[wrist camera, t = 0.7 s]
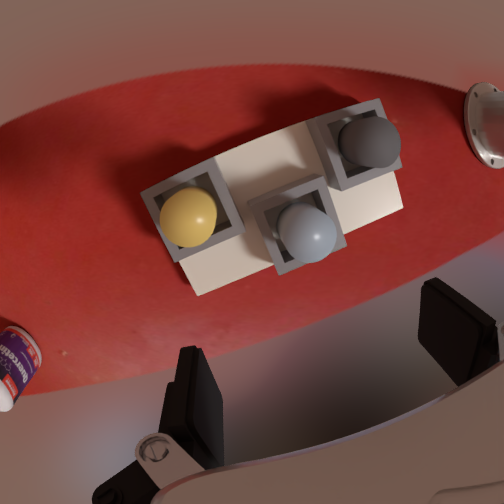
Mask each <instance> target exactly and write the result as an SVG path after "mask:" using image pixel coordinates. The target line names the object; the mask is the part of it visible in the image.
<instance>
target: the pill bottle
mask: <svg viewBox="0 0 504 504" xmlns="http://www.w3.org/2000/svg"><path fill="white" fill-rule="evenodd" d="M40 365H41V353H40V350H39V348H38V346H37V344H36V342H35V341H34V340H33V338H32V337H31V336H30V335H29V334H28V333H27V332H25V331H24V330H23V329H21V328H19V327H17V326H9V327H7V328H5V329H4V330H3V331H2V332H1V333H0V411H4V412H6V411H9V410H10V409H11V408H12V407H13V405H14V404H15V402H16V400H17V399H18V397H19V396H20V394H21V393H22V391H23V390H24V388H25V387H26V385H27V384H28V383H29V381H30V380H31V378H32V377H33V375H34V374H35V373H36V371H37V370H38V368H39V367H40Z"/></svg>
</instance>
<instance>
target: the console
mask: <svg viewBox="0 0 504 504" xmlns="http://www.w3.org/2000/svg"><path fill="white" fill-rule="evenodd" d="M376 116H377V117H382V118H385V119H387V117H386V114H385V112H384V109H383V106H382V104H381V101H380V99H379V98H377V99H374V100H370V101H366V102H363V103H359V104H356V105H353V106H349V107H346V108H343V109H339V110H336V111H333V112H330V113H327V114H324V115H320V116H317V117H314V118H312V119H309V120H306V121H303V122H300V123H297V124H294V125H292V126H289V127H286V128H283V129H281V130H278V131H275V132H273V133H270V134H267V135H265V136H262V137H260V138H257V139H255V140H252V141H250V142H247V143H245V144H242V145H240V146H238V147H235V148H233V149H230V150H228V151H226V152H224V153H221V154H219V155H217V156H214V157H212V158H210V159H208V160H205V161H203V162H201V163H199V164H197V165H195V166H192V167H190V168H188V169H186V170H184V171H182V172H180V173H178V174H176V175H174V176H172V177H170V178H168V179H166V180H164V181H162V182H160V183H158V184H156V185H154V186H152V187H150V188H148V189H146V190H144V191H142V192H140V194H141V196H142V198H143V201H144V203H145V205H146V207H147V209H148V211H149V213H150V215H151V217H152V219H153V221H154V223H155V225H156V227H157V229H158V231H159V233H160V235H161V237H162V239H163V241H164V243H165V245H166V247H167V249H168V251H169V253H170V254H171V256H172V258H173V260H174V262H178V261H179V263H180V265H181V267H182V268H183V270H184V272H185V274H186V276H187V278H188V280H189V281H190V283H191V285H192V287H193V289H194V291H195V292H196V294H197V296H199V295H202V294H204V293H207V292H209V291H212V290H214V289H216V288H219V287H221V286H224V285H226V284H229V283H231V282H233V281H236V280H238V279H241V278H243V277H245V276H248V275H250V274H253V273H255V272H257V271H260V270H262V269H264V268H267V267H269V266H271V265H275V267H276V270H277V272H278V274H279V275H282V274H284V273H286V272H289V271H291V270H293V269H296V268H298V267H300V266H303V265H305V264H307V263H305V262H301V261H298V260H296V259H295V258H294V257H292V256H291V255H290V253H289V252H288V250H287V249H286V247H285V245H284V244H283V242H282V240H281V239H280V237H279V235H278V233H277V229H276V223H277V218H278V216H279V214H280V212H281V211H282V210H283V209H284V208H285V207H286V206H288V205H289V204H291V203H295V202H306V203H309V204H311V205H312V206H314V207H316V208H317V209H319V210H320V211H322V212H323V213H325V214H326V215H328V216H329V217H330V218H331V219H332V221H333V222H334V224H335V227H336V231H337V238H336V243H335V245H334V248H333V249H332V251H331V252H330V253H332V252H335V251H337V250H339V249H341V248H344V247H346V246H347V244H346V241H345V238H344V235H343V234H346V233H348V232H350V231H352V230H355V229H357V228H359V227H361V226H364V225H366V224H368V223H370V222H373V221H375V220H377V219H379V218H382V217H384V216H386V215H388V214H390V213H393V212H395V211H397V210H399V209H402V208H403V205H402V201H401V197H400V193H399V189H398V185H397V182H396V178H395V174H394V170H397V169H399V168H402V164H401V160H400V157H399V156H398V158H397V160H396V161H395V162H394V163H393V164H392V165H390V166H388V167H386V168H374V167H367V166H359V165H354V164H351V163H350V162H348V161H347V160H346V159H345V158H344V157H343V156H342V154H341V153H340V150H339V147H338V135H339V132H340V130H341V129H342V127H343V126H344V125H345V124H347V123H348V122H351V121H355V120H360V119H364V118H369V117H376ZM189 186H198V187H202V188H204V189H206V190H207V191H209V192H210V193H211V194H212V195H213V197H214V198H215V200H216V203H217V218H216V223H215V228H214V231H213V233H212V235H211V236H210V237H209V239H208V240H206V241H205V242H204V243H202V244H201V245H198V246H195V247H181V246H178V245H176V244H174V243H172V242H171V241H169V240H168V239H167V238H166V236H165V235H164V233H163V232H162V229H161V226H160V212H161V209H162V207H163V205H164V203H165V202H166V201H167V200H168V199H169V198H170V197H172V196H173V195H174V194H175V193H177V192H178V191H179V190H181V189H183V188H185V187H189ZM330 253H329V254H330Z"/></svg>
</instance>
